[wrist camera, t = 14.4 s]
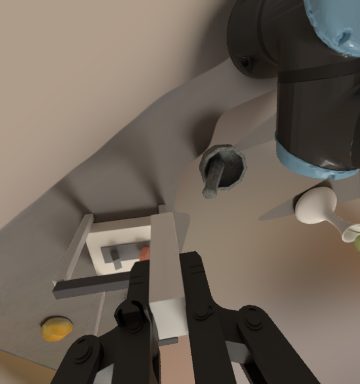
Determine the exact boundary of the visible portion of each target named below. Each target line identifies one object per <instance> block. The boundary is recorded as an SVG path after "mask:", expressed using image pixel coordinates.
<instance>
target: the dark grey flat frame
mask: <svg viewBox="0 0 360 384" xmlns="http://www.w3.org/2000/svg"><path fill="white" fill-rule="evenodd" d="M129 279H130V271H127V272H120V273H113V274H107V275H100V276H93V277H86V278H80V279H73V280H66V281H60V282H57V283H56V285H55V287H54V289H53V291H52V292H53V294H54V296H55V298H56V299H61V298H68V297H74V296H81V295H87V294H94V293H100V292H107V291H113V290H119V289H126V288H128V287H129ZM174 343H178V337H171V338H166V339H159V336H158V346H163V345H169V344H174Z"/></svg>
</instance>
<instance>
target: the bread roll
mask: <svg viewBox="0 0 360 384" xmlns="http://www.w3.org/2000/svg"><path fill="white" fill-rule="evenodd" d="M72 328H73V325H72V323H71V322H70V321H69V320H68V319H66V318H62V317H56V318H51V319H49V320H48V321H46V322H45V324H44V325H43V326H42V329H41V333H42V336H43V337H44V339H45V340H47V341H51V342H55V341H59V340H61V339H63V338H64V337H65V336H66V335H67V334H68V333H70V332H71V330H72Z"/></svg>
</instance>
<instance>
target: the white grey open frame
mask: <svg viewBox="0 0 360 384" xmlns="http://www.w3.org/2000/svg"><path fill="white" fill-rule="evenodd" d="M158 206H159V214H162V213H167V211H166V204H165V205H158ZM93 221H94V217H93V214H85V215H84V217H83V219H82V221H81V223H80V225H79V227H78V229H77V231H76V233H75V235H74V237H73V239H72V241H71V243H70V245H69V247H68V249H67V251H66V254H65V256H64V258H63V260H62V262H61V264H60V266H59V268H58V270H57V272H56V274H55V276H54V278H53V280H52V281H53V283H54V286H55V285H56V283H57V282H60V281H66V280H70V278H71V276H72V273H73V271H74V268H75V266H76V263H77V261H78V258H79V256H80V253H81V251H82V248H83V246H84V244H85V241H86V244H87V247H88V250H89V252H90V255H91V258H92V261H93V264H94V267H95V270H96V273H97V275H98V276H100V275H107V274H113V273H120V272H127V271H131V268H132V266H133V265H134V263H135V262H137V261H140V260H139V254H140V252H141V250H142V248H143V246H144V247H150V238H151V216H148V217H140V218H132V219H124V220H116V221H108V222H101V223H93ZM116 250H117V252H118V255H119V257H120V261H121V264H122V268H120V269H118V270H115V267H114V264H113V260H112V257H111V253H110V252H113V251H116ZM105 293H106V292H100V293H96V294H95V298H94V302H93V305H92V309H91V313H90V317H89V321H88V325H87V329H86V333H85V335H90V334H92V335H95V336H97V331H98V327H99V322H100V317H101V312H102V307H103V302H104V298H105Z"/></svg>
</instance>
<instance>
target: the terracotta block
mask: <svg viewBox="0 0 360 384" xmlns="http://www.w3.org/2000/svg"><path fill="white" fill-rule="evenodd" d="M149 259H150V247H144V246H143V248H142V250H141V252H140V254H139V260H140V261H143V260H149Z"/></svg>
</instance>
